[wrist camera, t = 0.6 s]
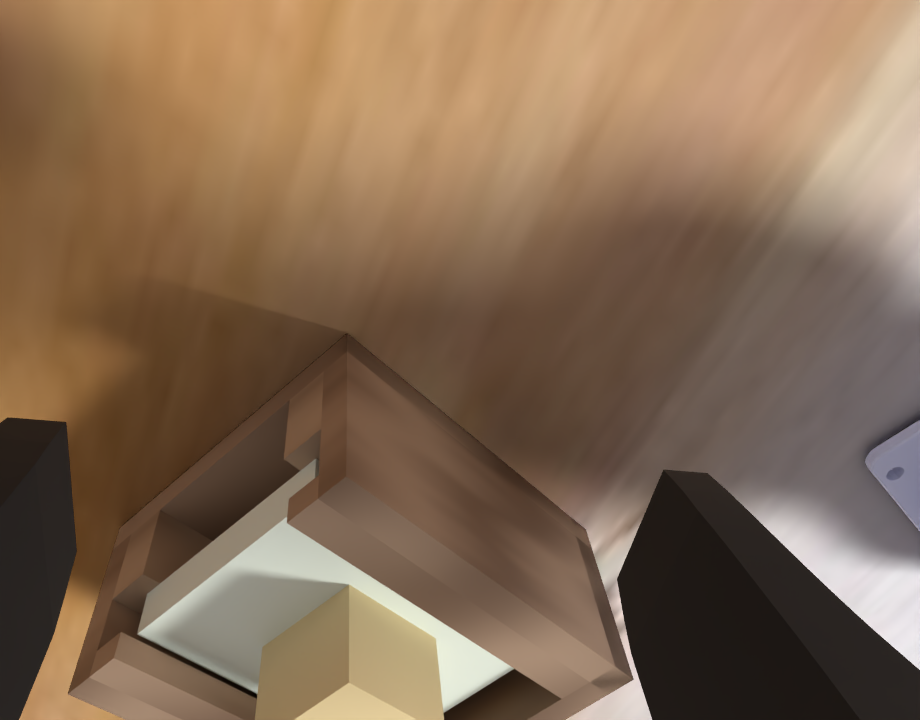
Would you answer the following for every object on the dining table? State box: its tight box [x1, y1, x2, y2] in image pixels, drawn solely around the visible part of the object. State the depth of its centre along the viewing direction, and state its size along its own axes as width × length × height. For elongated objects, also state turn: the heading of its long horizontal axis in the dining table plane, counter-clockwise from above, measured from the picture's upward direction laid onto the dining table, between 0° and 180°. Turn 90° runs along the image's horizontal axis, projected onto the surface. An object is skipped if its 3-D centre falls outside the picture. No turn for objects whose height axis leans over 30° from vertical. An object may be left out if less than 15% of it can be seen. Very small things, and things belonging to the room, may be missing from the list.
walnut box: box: [68, 334, 634, 720], centre depth 22 cm, size 10×9×5 cm
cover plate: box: [137, 459, 514, 720], centre depth 20 cm, size 8×6×4 cm
